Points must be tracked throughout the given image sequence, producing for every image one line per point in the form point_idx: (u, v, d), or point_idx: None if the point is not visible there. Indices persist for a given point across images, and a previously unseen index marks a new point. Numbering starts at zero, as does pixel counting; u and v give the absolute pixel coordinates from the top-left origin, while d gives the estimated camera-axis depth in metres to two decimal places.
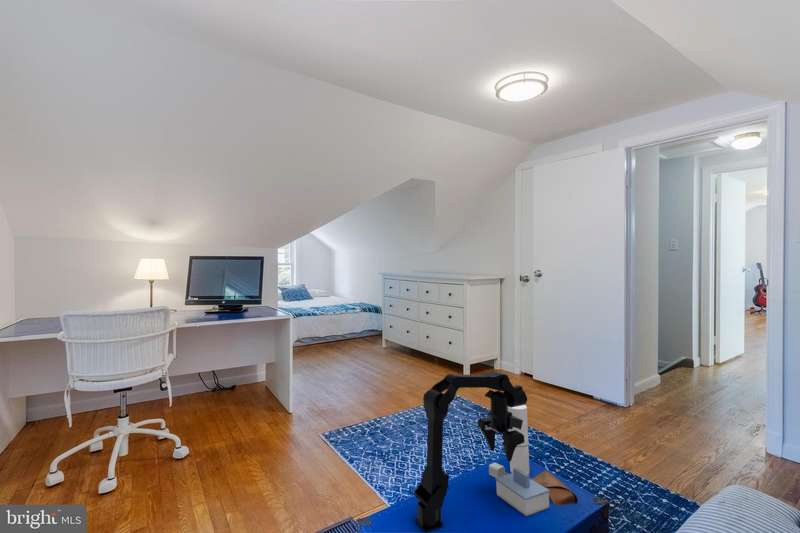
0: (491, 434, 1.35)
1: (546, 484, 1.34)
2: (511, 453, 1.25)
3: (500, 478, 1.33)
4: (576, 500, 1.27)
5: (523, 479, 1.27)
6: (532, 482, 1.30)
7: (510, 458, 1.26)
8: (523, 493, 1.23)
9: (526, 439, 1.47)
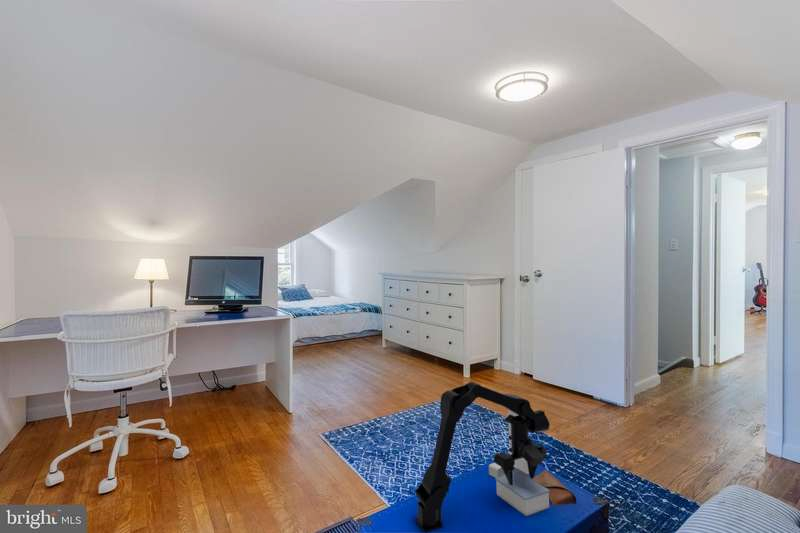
0: None
1: (545, 484, 1.34)
2: (508, 476, 1.26)
3: (500, 478, 1.33)
4: (575, 500, 1.27)
5: (523, 479, 1.27)
6: (532, 482, 1.30)
7: (509, 482, 1.27)
8: (523, 493, 1.23)
9: None
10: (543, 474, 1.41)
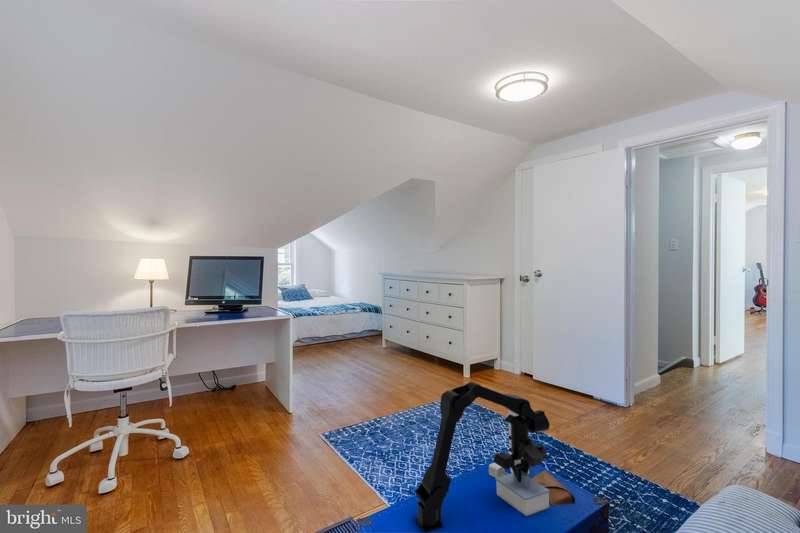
0: (523, 464, 1.30)
1: (544, 484, 1.34)
2: (517, 474, 1.28)
3: (500, 478, 1.33)
4: (573, 500, 1.27)
5: (523, 479, 1.27)
6: (532, 482, 1.30)
7: (518, 479, 1.28)
8: (523, 493, 1.23)
9: None
10: (542, 474, 1.41)
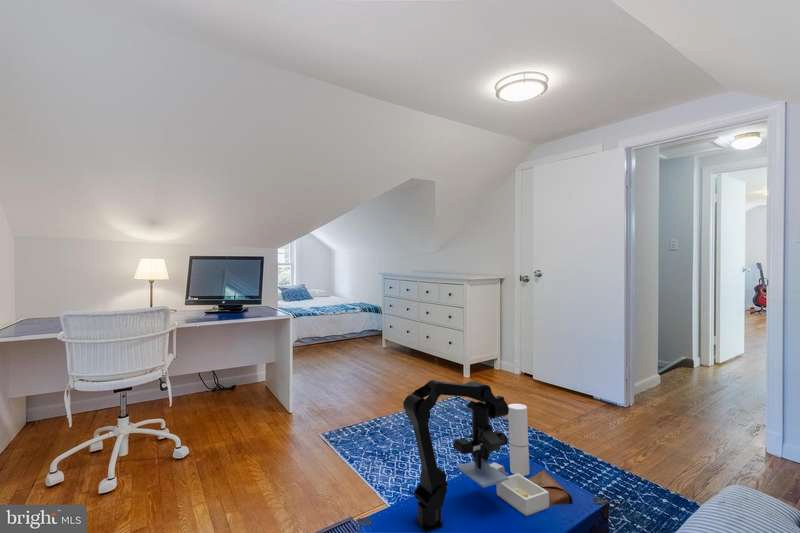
0: (484, 450, 1.29)
1: (542, 484, 1.34)
2: (476, 460, 1.27)
3: (461, 466, 1.32)
4: (571, 500, 1.26)
5: (482, 467, 1.26)
6: (492, 470, 1.29)
7: (478, 465, 1.27)
8: (481, 480, 1.22)
9: (526, 439, 1.47)
10: (540, 474, 1.41)
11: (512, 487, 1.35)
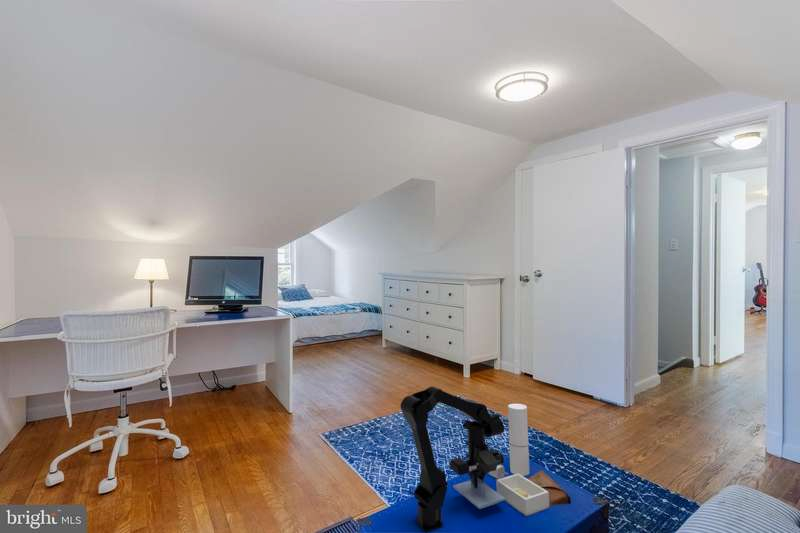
0: (480, 469, 1.28)
1: (540, 484, 1.34)
2: (473, 480, 1.27)
3: (458, 485, 1.31)
4: (569, 501, 1.26)
5: (479, 487, 1.26)
6: (489, 490, 1.28)
7: (474, 485, 1.27)
8: (477, 501, 1.22)
9: (526, 439, 1.47)
10: (539, 474, 1.41)
11: (512, 487, 1.35)
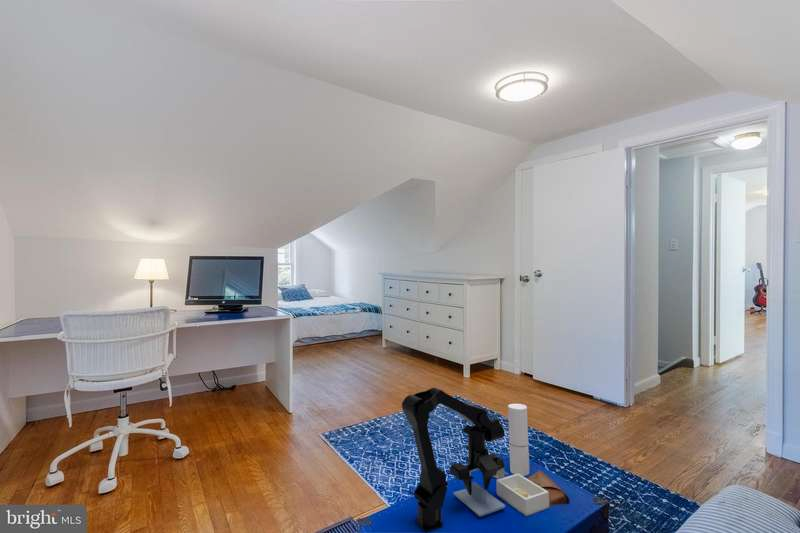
0: None
1: (538, 484, 1.34)
2: (467, 486, 1.26)
3: (458, 492, 1.31)
4: (568, 500, 1.26)
5: (479, 494, 1.26)
6: (489, 497, 1.28)
7: (468, 492, 1.26)
8: (478, 508, 1.21)
9: (526, 439, 1.47)
10: (537, 474, 1.41)
11: (512, 487, 1.35)
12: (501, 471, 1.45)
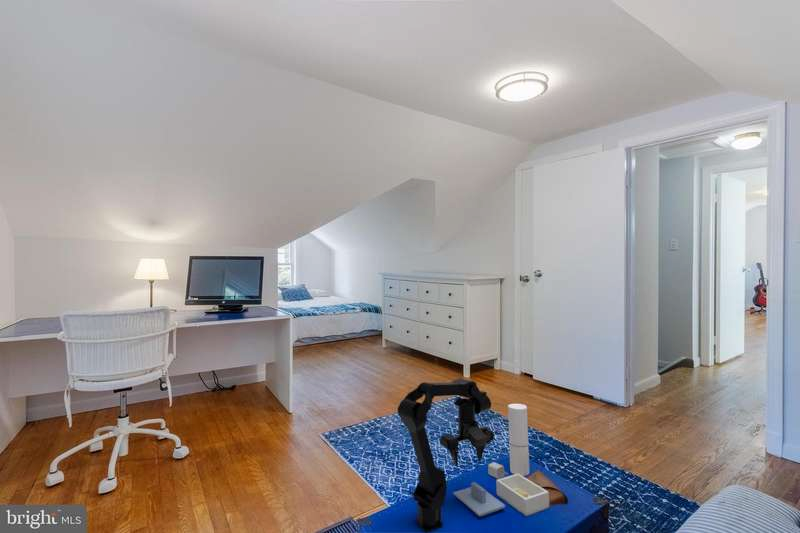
0: None
1: (537, 484, 1.34)
2: (453, 458, 1.28)
3: (458, 492, 1.31)
4: (566, 500, 1.26)
5: (479, 494, 1.26)
6: (489, 497, 1.28)
7: (455, 463, 1.28)
8: (478, 508, 1.21)
9: (526, 439, 1.47)
10: (536, 474, 1.41)
11: (512, 487, 1.35)
12: (501, 471, 1.45)
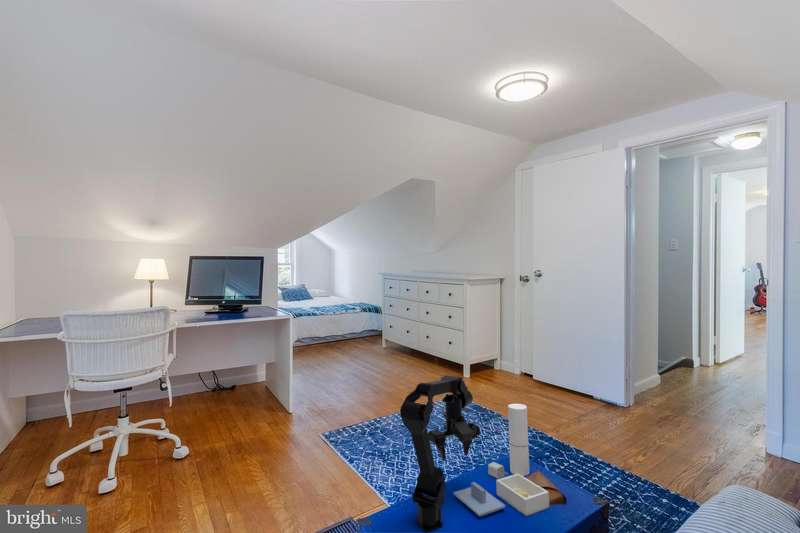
0: None
1: (536, 484, 1.34)
2: (441, 452, 1.31)
3: (458, 492, 1.31)
4: (565, 501, 1.26)
5: (479, 494, 1.26)
6: (489, 497, 1.28)
7: (442, 457, 1.31)
8: (478, 508, 1.21)
9: (526, 439, 1.47)
10: (535, 474, 1.41)
11: (512, 487, 1.35)
12: (501, 471, 1.45)
